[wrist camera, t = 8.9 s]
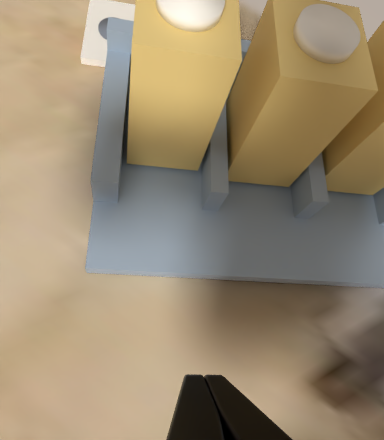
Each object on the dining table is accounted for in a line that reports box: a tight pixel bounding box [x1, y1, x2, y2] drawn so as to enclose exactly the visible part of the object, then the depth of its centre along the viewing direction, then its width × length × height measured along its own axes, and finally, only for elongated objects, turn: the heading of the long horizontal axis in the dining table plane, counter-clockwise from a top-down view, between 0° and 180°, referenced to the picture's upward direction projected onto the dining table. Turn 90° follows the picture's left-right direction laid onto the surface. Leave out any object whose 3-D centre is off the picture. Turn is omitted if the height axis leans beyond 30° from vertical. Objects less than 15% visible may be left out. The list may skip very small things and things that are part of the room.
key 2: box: [127, 0, 242, 171], centre depth 19 cm, size 5×4×10 cm
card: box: [81, 0, 135, 67], centre depth 28 cm, size 6×10×1 cm, turn 89°
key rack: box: [85, 17, 384, 288], centre depth 23 cm, size 14×20×5 cm
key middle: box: [226, 0, 378, 187], centre depth 20 cm, size 5×4×10 cm
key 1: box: [322, 21, 384, 195], centre depth 21 cm, size 5×4×10 cm
